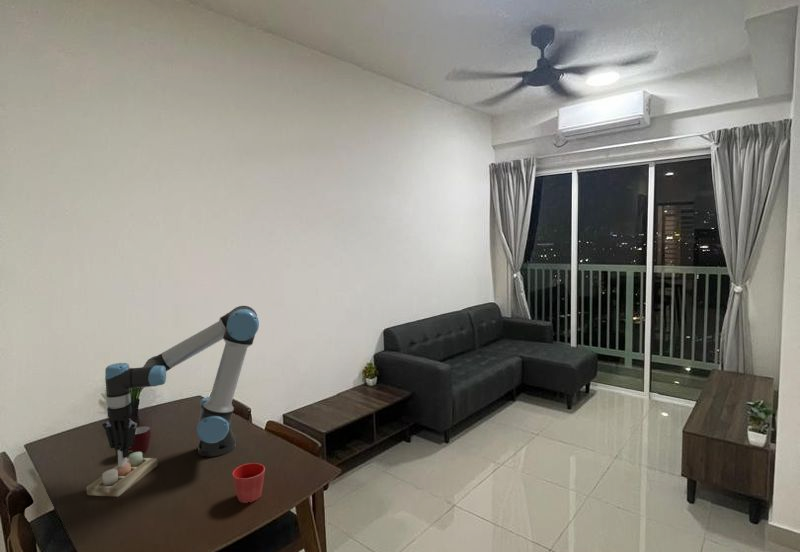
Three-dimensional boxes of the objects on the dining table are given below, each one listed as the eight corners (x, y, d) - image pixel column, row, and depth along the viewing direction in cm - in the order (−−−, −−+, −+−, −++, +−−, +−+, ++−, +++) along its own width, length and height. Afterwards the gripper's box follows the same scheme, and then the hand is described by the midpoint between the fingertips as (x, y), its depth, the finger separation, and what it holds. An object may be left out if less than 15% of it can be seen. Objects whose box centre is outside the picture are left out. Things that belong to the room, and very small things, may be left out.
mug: (125, 461, 175) (123, 438, 174) (120, 455, 180) (119, 432, 180) (154, 452, 182) (152, 430, 181) (148, 446, 188) (147, 424, 187)
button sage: (145, 460, 170) (144, 451, 170) (137, 466, 165) (136, 457, 165) (134, 459, 170) (134, 451, 170) (126, 465, 166) (125, 457, 165)
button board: (157, 465, 171) (156, 458, 171) (118, 496, 151) (117, 488, 150) (129, 464, 173) (129, 457, 172) (87, 495, 152) (86, 487, 151)
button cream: (121, 478, 157) (120, 469, 157) (111, 485, 152) (111, 476, 152) (109, 477, 157) (109, 468, 157) (99, 484, 153) (99, 475, 152)
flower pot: (254, 484, 157) (253, 459, 156) (271, 495, 150) (270, 469, 149) (227, 498, 149) (226, 471, 148) (244, 510, 142) (243, 482, 141)
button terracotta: (134, 471, 163) (133, 462, 163) (125, 478, 159) (124, 469, 159) (122, 471, 164) (122, 462, 164) (113, 477, 159) (113, 468, 159)
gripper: (142, 401, 162) (145, 461, 164) (110, 400, 164) (114, 459, 165) (128, 409, 155) (131, 471, 157) (95, 408, 156) (99, 469, 158)
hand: (122, 465), depth 161 cm, fingers closed
